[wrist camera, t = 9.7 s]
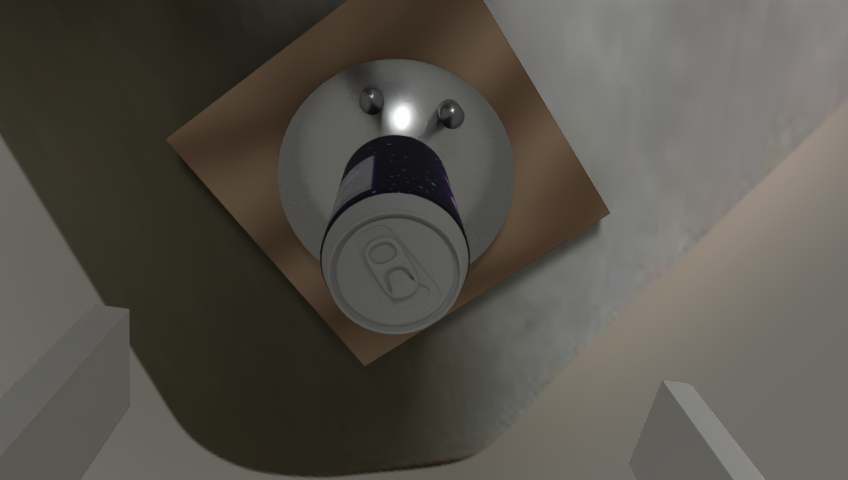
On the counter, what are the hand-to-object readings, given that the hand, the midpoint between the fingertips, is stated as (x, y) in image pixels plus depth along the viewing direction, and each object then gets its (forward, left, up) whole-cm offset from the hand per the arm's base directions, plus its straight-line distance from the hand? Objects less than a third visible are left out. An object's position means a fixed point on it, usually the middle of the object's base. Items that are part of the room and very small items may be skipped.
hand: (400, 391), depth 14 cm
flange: (0, 0, -20) cm, 20 cm away
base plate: (0, 0, -21) cm, 21 cm away
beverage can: (0, 0, -19) cm, 19 cm away
